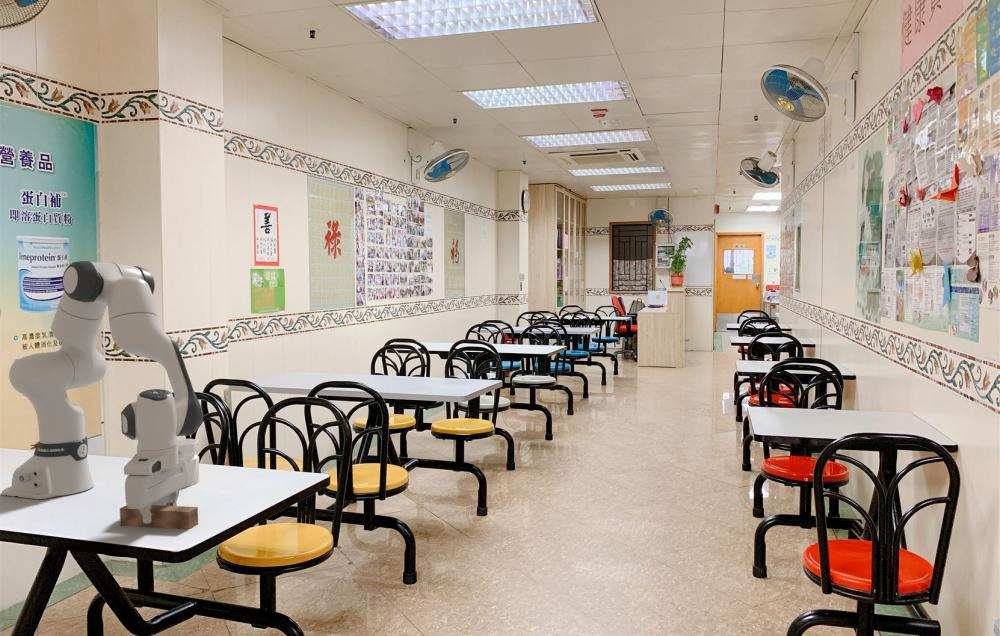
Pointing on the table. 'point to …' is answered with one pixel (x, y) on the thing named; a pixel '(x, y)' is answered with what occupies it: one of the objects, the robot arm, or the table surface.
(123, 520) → the walnut bar
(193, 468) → the vase
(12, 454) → the table surface
